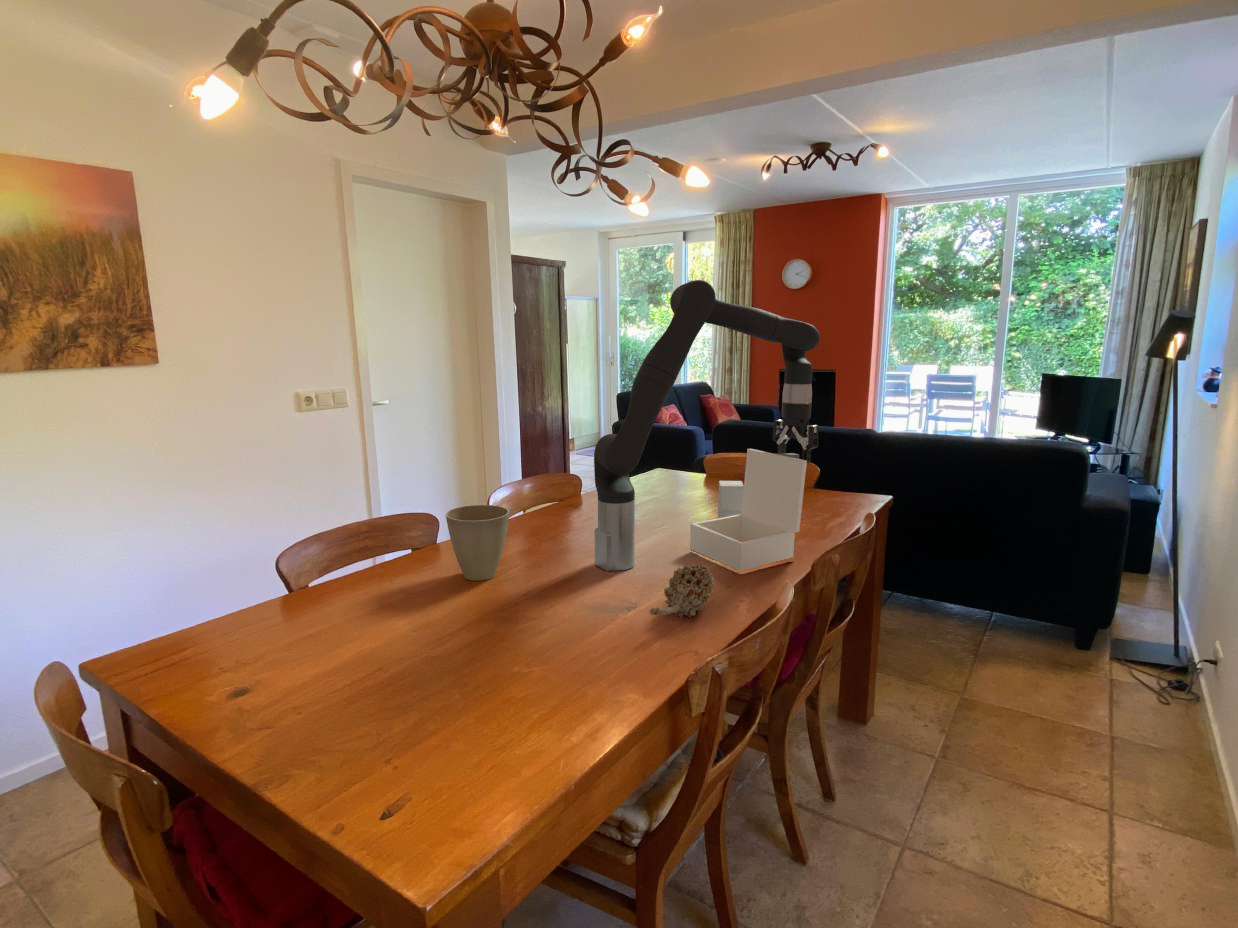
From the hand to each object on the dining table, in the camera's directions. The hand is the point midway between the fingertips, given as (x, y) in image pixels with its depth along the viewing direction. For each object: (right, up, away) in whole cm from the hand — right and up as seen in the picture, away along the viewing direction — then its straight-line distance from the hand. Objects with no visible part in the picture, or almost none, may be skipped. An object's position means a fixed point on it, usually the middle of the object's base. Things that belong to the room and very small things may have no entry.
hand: (793, 460), depth 177 cm
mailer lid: (-7, -8, -3) cm, 11 cm away
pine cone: (-34, -33, -41) cm, 63 cm away
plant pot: (-81, -28, -17) cm, 87 cm away
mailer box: (-15, -25, -4) cm, 30 cm away
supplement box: (-12, -19, +27) cm, 36 cm away
